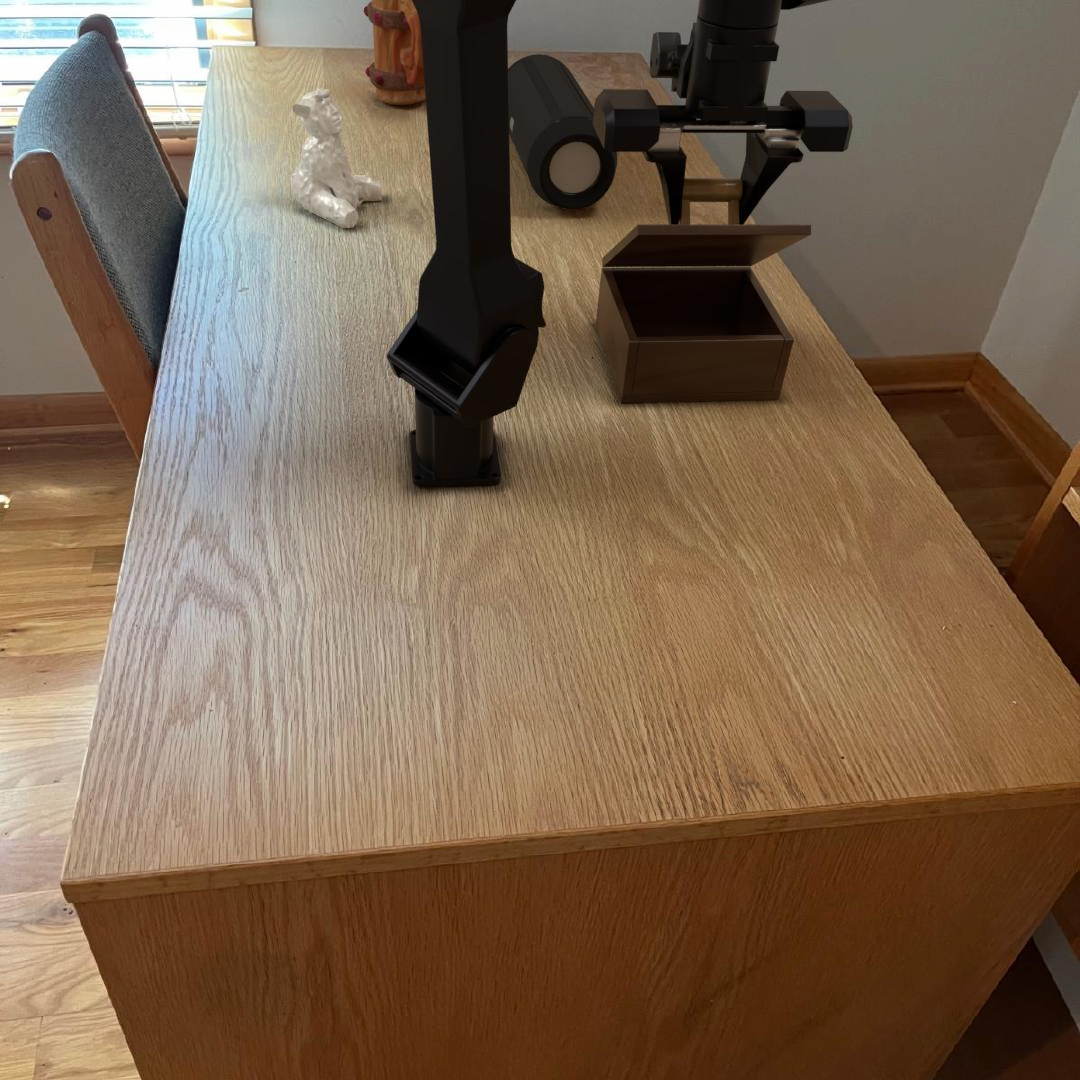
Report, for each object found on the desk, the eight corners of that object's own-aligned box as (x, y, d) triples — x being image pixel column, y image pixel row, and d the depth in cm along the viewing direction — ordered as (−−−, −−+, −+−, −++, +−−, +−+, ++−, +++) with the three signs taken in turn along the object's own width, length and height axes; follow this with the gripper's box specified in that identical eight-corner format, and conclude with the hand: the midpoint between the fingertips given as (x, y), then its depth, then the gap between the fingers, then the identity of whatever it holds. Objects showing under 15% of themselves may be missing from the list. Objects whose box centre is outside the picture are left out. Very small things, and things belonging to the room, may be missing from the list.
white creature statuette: (351, 232, 105) (344, 112, 97) (274, 218, 106) (260, 99, 99) (386, 197, 112) (382, 83, 104) (314, 184, 113) (303, 70, 105)
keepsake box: (778, 399, 86) (794, 339, 82) (621, 403, 84) (629, 341, 81) (738, 323, 96) (750, 266, 92) (595, 325, 94) (601, 267, 90)
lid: (811, 234, 78) (811, 165, 78) (637, 235, 76) (636, 163, 76) (751, 266, 92) (750, 206, 91) (602, 267, 90) (600, 206, 89)
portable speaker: (492, 132, 128) (494, 47, 122) (569, 131, 130) (575, 47, 124) (528, 220, 110) (534, 125, 103) (618, 217, 112) (628, 124, 105)
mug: (360, 91, 137) (353, -35, 127) (417, 86, 140) (415, -38, 130) (396, 130, 127) (391, -3, 117) (457, 123, 130) (458, -7, 120)
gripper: (826, -8, 80) (785, 188, 90) (589, -13, 77) (575, 189, 88) (878, 33, 71) (827, 244, 82) (615, 29, 69) (596, 247, 79)
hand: (704, 228), depth 83 cm, fingers closed on lid, 5 cm apart
